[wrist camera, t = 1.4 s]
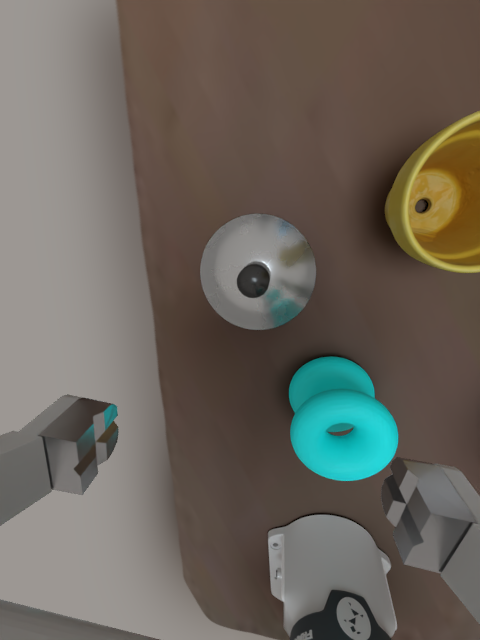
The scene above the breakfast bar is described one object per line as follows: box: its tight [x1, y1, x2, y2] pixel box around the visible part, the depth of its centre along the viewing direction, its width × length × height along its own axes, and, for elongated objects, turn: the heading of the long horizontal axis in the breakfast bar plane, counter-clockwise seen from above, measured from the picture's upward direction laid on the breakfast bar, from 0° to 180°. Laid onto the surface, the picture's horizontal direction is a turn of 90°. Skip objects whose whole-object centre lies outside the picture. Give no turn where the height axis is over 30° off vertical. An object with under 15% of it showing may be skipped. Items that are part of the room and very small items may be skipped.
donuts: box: [289, 356, 398, 481], centre depth 30 cm, size 10×10×10 cm
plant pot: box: [385, 111, 480, 273], centre depth 23 cm, size 10×10×10 cm
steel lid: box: [200, 214, 316, 330], centre depth 30 cm, size 13×13×5 cm
